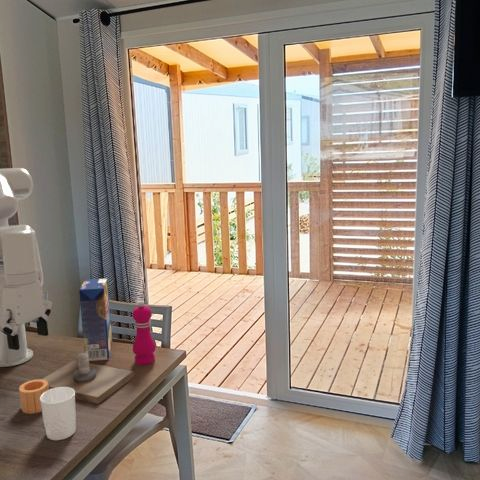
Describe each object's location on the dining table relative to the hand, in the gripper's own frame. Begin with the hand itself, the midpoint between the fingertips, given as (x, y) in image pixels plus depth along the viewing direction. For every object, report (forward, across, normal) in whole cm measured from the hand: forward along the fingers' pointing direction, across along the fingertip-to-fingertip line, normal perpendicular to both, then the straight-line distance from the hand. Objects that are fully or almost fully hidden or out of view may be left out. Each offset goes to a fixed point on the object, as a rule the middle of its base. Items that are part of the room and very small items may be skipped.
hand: (29, 341), depth 127 cm
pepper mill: (+19, -34, +12) cm, 41 cm away
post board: (+18, -15, +4) cm, 24 cm away
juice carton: (+18, -34, -6) cm, 39 cm away
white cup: (+19, +7, +14) cm, 25 cm away
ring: (+18, 0, 0) cm, 19 cm away
